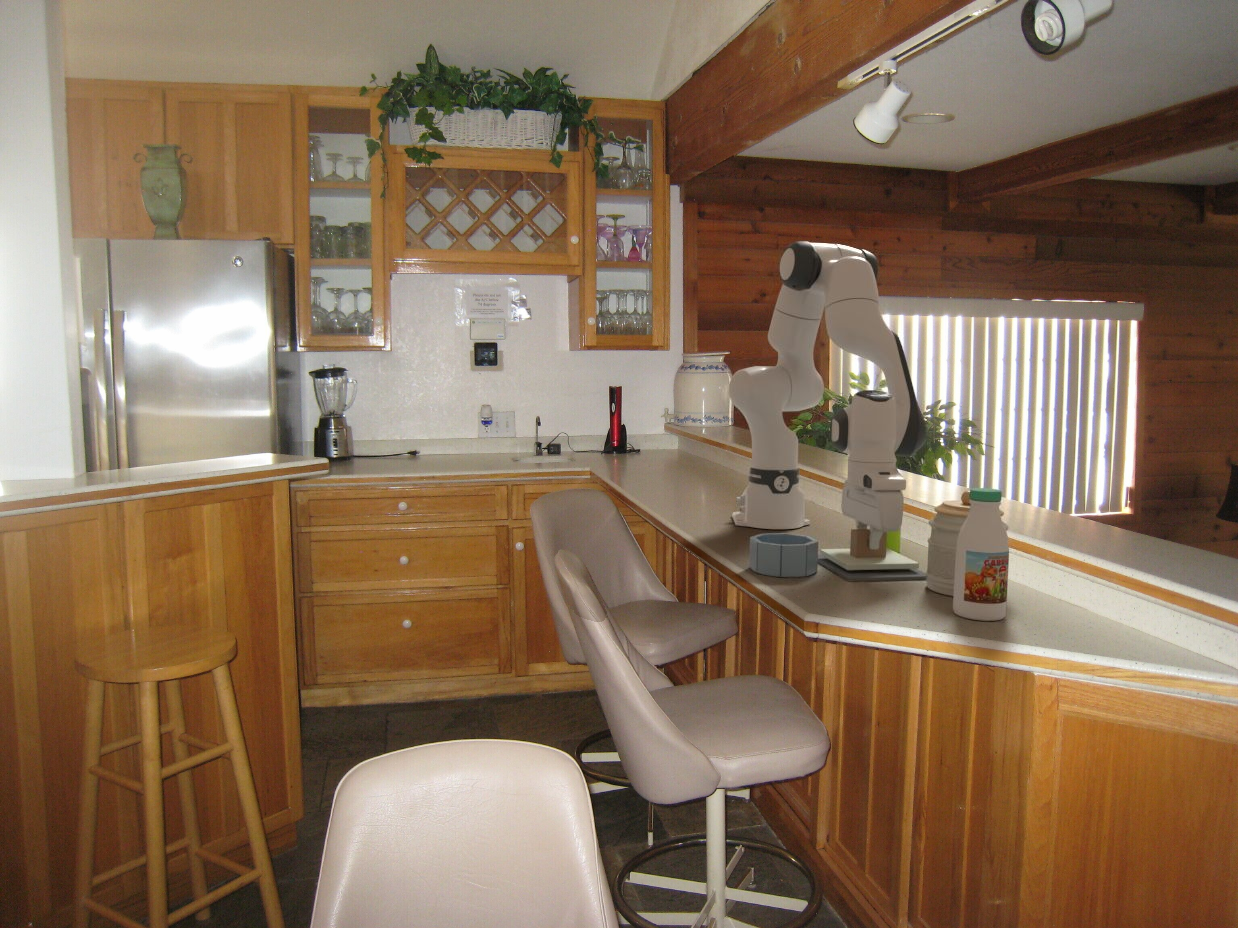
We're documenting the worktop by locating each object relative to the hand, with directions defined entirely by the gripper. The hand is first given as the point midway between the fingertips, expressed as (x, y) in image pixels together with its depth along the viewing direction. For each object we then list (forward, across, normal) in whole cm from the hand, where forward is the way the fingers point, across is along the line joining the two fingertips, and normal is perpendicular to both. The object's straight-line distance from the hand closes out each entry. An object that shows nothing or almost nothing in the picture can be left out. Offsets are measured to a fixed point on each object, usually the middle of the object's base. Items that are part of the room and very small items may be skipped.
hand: (868, 546), depth 168 cm
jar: (+4, +18, +10) cm, 21 cm away
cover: (+3, 0, 0) cm, 3 cm away
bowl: (+4, 0, -17) cm, 18 cm away
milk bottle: (+4, +33, +4) cm, 34 cm away
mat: (+4, 0, 0) cm, 4 cm away
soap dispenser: (+4, -15, +10) cm, 19 cm away
